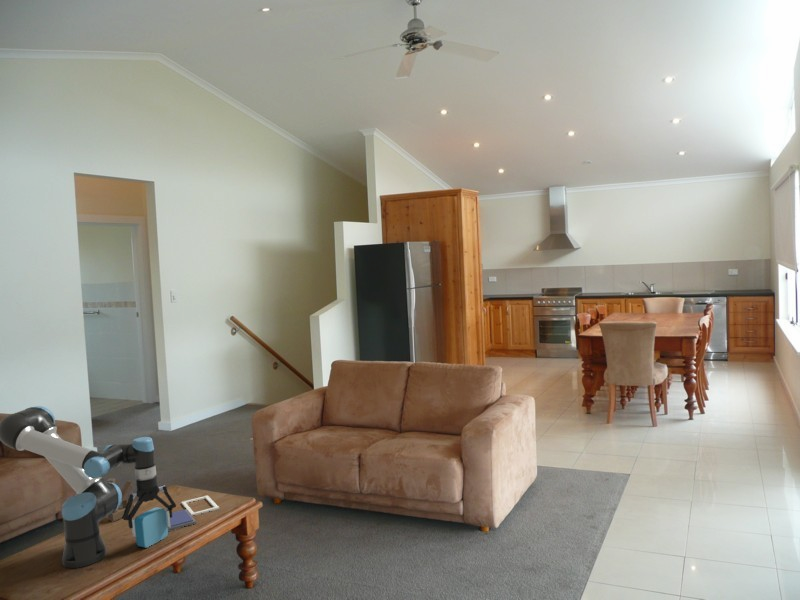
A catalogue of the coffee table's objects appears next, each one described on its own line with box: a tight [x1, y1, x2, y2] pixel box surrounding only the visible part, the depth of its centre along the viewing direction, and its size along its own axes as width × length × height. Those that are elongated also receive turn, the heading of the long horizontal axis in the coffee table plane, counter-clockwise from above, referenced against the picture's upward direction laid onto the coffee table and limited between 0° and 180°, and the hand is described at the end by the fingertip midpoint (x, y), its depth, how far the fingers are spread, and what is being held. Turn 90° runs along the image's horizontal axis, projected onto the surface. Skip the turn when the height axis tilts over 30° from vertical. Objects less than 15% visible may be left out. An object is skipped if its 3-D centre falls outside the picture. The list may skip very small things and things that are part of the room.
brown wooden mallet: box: [105, 477, 135, 522], centre depth 281 cm, size 4×11×18 cm, turn 147°
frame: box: [180, 495, 220, 517], centre depth 288 cm, size 12×19×1 cm, turn 31°
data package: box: [134, 506, 169, 549], centre depth 252 cm, size 12×4×12 cm, turn 155°
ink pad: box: [167, 508, 197, 532], centre depth 271 cm, size 15×17×2 cm
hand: (151, 530), depth 252 cm, fingers closed on data package, 12 cm apart
